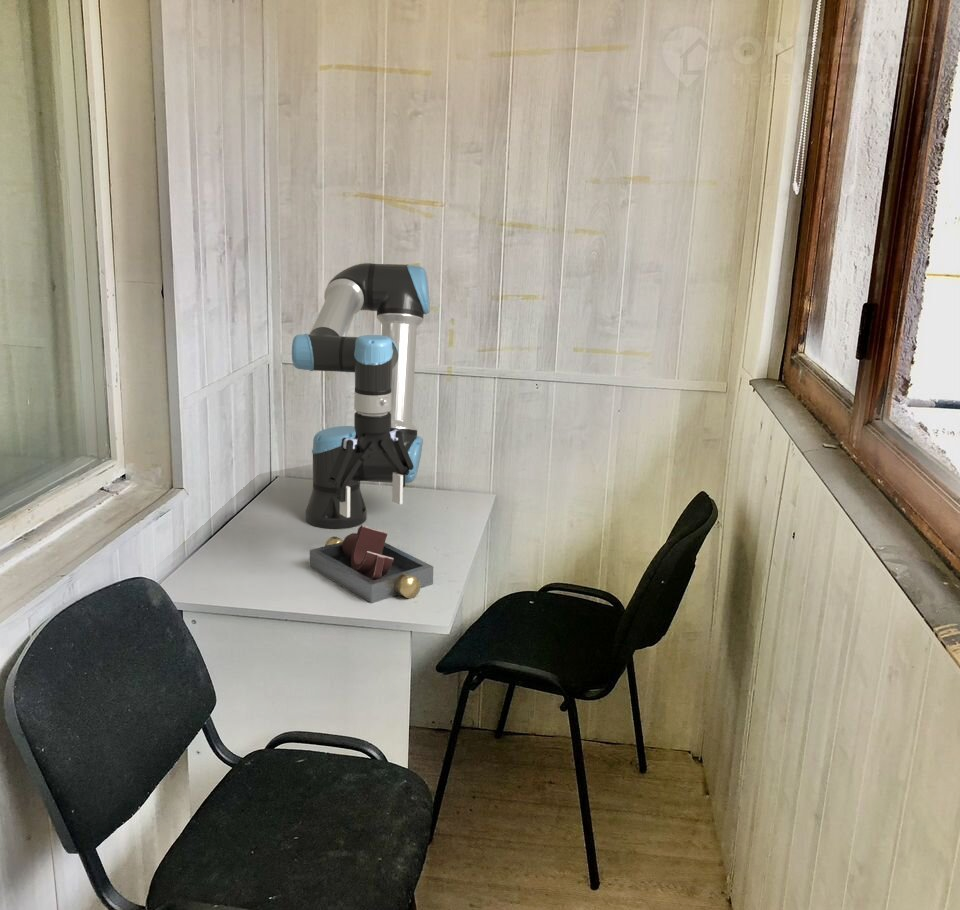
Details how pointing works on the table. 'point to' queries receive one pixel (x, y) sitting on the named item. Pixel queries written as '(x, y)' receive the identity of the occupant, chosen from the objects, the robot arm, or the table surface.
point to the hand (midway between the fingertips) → (371, 509)
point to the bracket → (367, 552)
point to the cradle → (399, 579)
